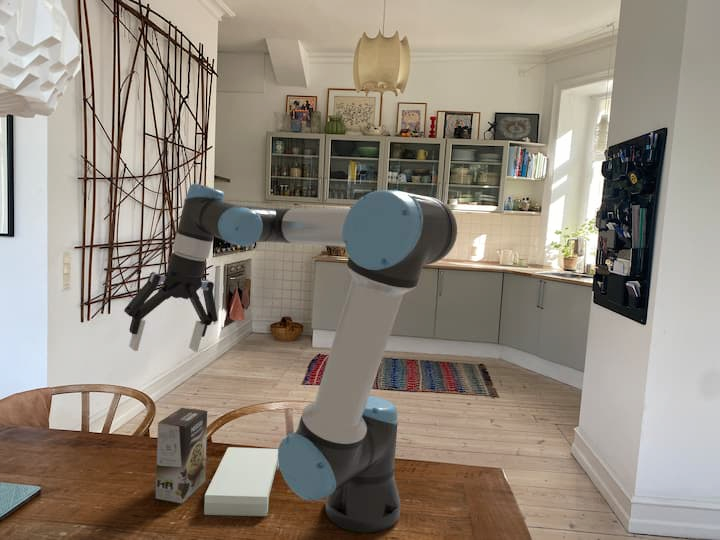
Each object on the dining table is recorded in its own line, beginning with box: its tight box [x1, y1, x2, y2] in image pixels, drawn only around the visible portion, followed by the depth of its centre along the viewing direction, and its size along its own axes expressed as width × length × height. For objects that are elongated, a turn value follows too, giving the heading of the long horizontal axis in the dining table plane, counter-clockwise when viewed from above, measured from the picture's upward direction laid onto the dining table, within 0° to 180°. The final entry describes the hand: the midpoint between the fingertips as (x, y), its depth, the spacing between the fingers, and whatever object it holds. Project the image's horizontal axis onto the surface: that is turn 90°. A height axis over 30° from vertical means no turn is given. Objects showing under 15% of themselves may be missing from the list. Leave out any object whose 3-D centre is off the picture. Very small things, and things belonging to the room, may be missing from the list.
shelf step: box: [203, 446, 280, 517], centre depth 103 cm, size 12×20×4 cm, turn 3°
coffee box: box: [155, 407, 208, 504], centre depth 101 cm, size 9×6×16 cm
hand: (164, 349), depth 105 cm, fingers open, 13 cm apart
